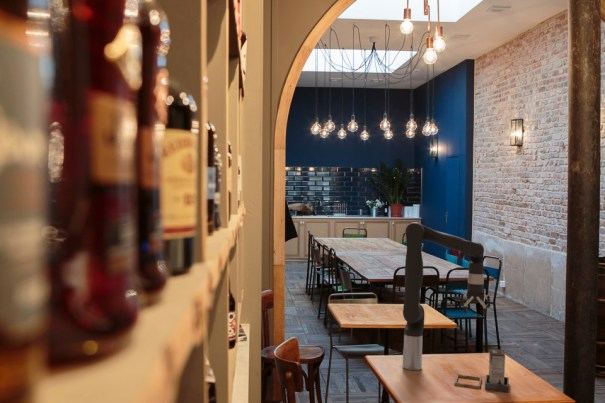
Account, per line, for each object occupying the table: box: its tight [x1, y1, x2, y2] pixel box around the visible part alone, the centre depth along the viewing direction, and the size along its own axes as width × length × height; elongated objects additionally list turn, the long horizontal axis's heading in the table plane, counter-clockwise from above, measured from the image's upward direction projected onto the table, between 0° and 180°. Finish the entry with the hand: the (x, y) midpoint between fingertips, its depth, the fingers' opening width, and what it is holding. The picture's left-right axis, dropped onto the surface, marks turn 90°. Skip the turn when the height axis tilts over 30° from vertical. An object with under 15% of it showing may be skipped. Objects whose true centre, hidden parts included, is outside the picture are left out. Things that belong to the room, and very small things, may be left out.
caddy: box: [484, 374, 510, 394], centre depth 262 cm, size 10×13×3 cm
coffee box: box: [488, 348, 506, 385], centre depth 262 cm, size 9×6×16 cm
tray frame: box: [454, 373, 483, 390], centre depth 267 cm, size 12×14×1 cm
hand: (474, 314), depth 278 cm, fingers open, 8 cm apart
